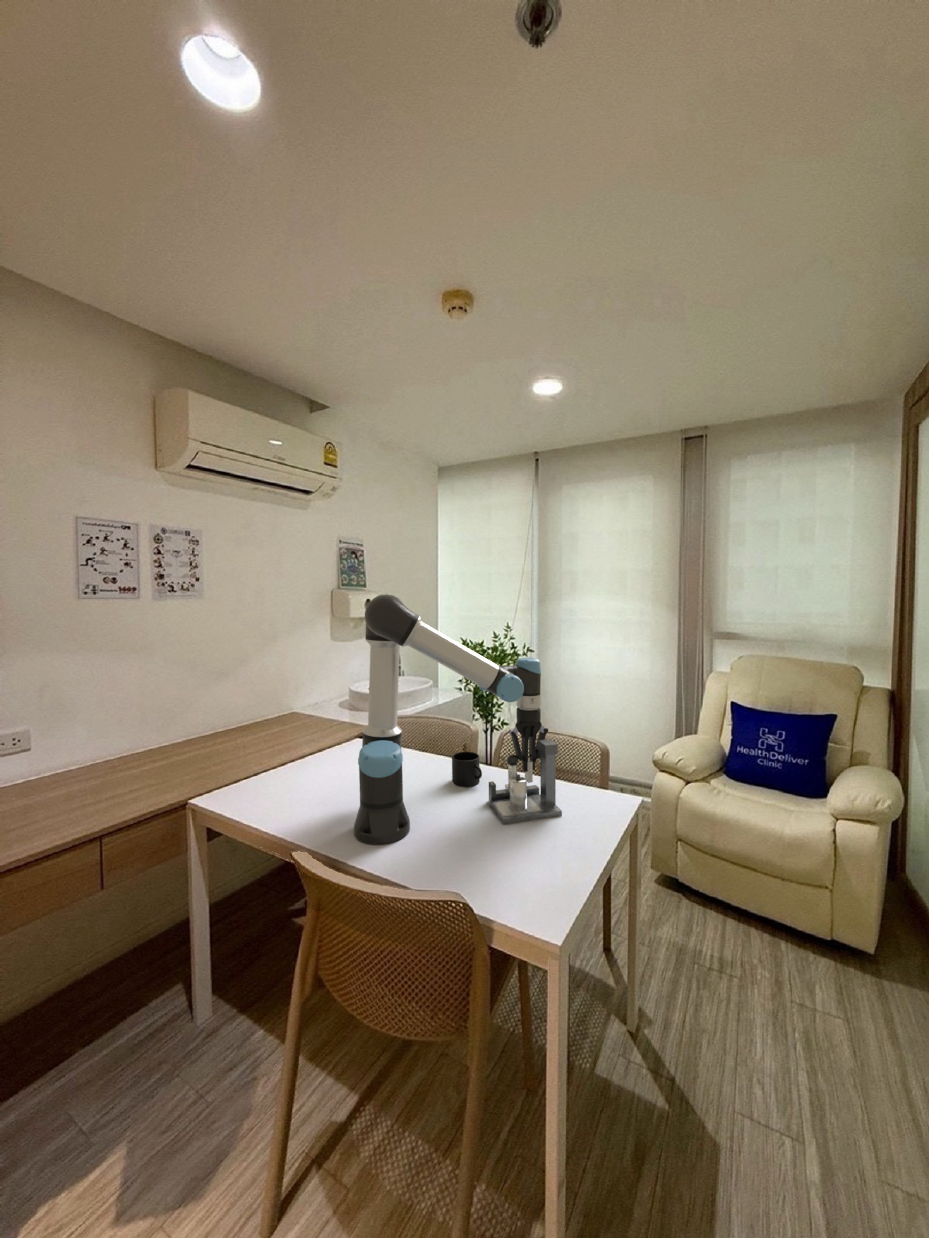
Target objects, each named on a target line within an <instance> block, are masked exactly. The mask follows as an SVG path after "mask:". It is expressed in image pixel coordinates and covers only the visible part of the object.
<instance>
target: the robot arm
mask: <svg viewBox="0 0 929 1238" xmlns="http://www.w3.org/2000/svg"><path fill="white" fill-rule="evenodd" d="M364 621H365V637H364V638H365V641H366V643H367V644H369V645H370V646H369V647H370V650H369V679H368V680H369V684H368V685H369V687H368V688H369V689H368V715H367V716H368V717H367V726H365V727H364V728H363V729H362V741H361V743H362V744H361V746H362V747H361V748H360V750H359V752H358V753H359V754H358V759H357V760H358V761H357V763H358V773H359V775H358V777H359V778H358V779H359V807H358V812H357V814H356V818H355V821H354V823H353V824H354V825H353V832H354V834H353V835H354V837H355V838H356V840H357V841H359V842H361V843H364V844H366V845H367V844H368V845H387V844H391V843H395V842H397V841H400V840H401V839H403V838H405V837H406V836H407V835H408V834H409V833H410V831H411V823H410V822H411V821H410V817H409V814H408V811H407V808H406V806H405V803H404V795H403V794H404V791H403V790H404V787H403V786H404V785H403V783H404V781H403V778H404V777H403V760H404V759H403V758H404V756H403V753H402V737H403V736H402V733H403V732H402V730H403V729H402V728H401V727H400V726H399V725H398V709H399V707H398V706H399V705H398V704H399V703H398V702H399V679H400V677H399V675H400V674H399V673H400V647H407V646H408V647H410V648H412V649H414V650H415V651H418V652H419V653H421V654H422V655H424V656H426V657H428V658H430V659H431V660H433V661H435V662H437V663H439V664H441V665H442V666H444V667H445V668H447V669H449V670H451V671H452V672H454V673H456V674H458V675H460V676H462V677H464V678H465V679H467V680H469V681H471V682H473V683H474V684H476V685H477V686H478V688H479V689H480V690H481V691H484V692H485V691H486V692H489V693H492V694H494V695H496V696H497V697H499V700H502V701H504V702H507V703H516V704H515V705H516V707H517V708H516V723H515V724H514V725H515V727H514V728H512V729H509V730H508V734H509V735H510V737H511V740H512V744H513V749H514V752H515V755H516V756H517V757H518V761H520V762H521V763H522V765H521V769H522V771H523V772H524V778H525V779H526V780H527V783H528V784H529V783H533V781H534V780H533V778H534V777H533V776H534V775H533V771H536V763H537V760H538V759H539V760H540V751H539V750H538V740H546V736H547V735H548V732H549V728H548V727H546V726H543V725H542V722H541V718H542V717H541V712H542V711H541V708H540V707H541V704H542V703H541V702H542V701H541V697H542V696H541V695H542V694H541V682H542V681H541V680H542V679H541V676H542V673H541V671H542V670H541V669H542V668H541V662H540V660H539V659H538V658H535V657H519V658H517V659H516V663H515V664H513V665H498V664H496V663H495V662H493V661H492V660H489V659H487V658H486V657H485V656H482V655H481V654H479V653H478V652H476V651H474V650H472V649H471V648H468V647H467V646H465V645H463V644H462V643H460V642H459V641H456V640H454V639H453V638H451V637H450V636H448V635H447V634H445V633H443V632H441V631H440V630H437V629H436V628H434V627H432V626H430V625H429V624H427V623H425V622H424V621H422V618H421V615H419V614H417V613H415V612H414V611H412V610H411V609H409V608H408V607H407V606H406V605H405V604H404V603H403V602H402V600H401V599H400V598H399V597H396V596H395V595H392V594H387V593H386V594H379V595H377V596H375V597H374V598H372V599H371V600H370V601H369V602H368V604H367V605H366V608H365V611H364ZM518 733H519V735H520V738H521V739H520V740H521V746H520V741H519V737H518ZM537 735H538V736H537Z"/></svg>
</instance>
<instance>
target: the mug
mask: <svg viewBox="0 0 929 1238" xmlns="http://www.w3.org/2000/svg"><path fill="white" fill-rule="evenodd" d="M451 768H452V769H451V775H452V776H451V781H452V784H453V785H455V786H456V787H461V788H462V787H463V788H469V787H470V788H471V787H475V786H477V785H479V783H480V779H481V778H482V776H483V773H482V769H481V767H480V754H478V753H477V752H474V751H473V752H472V751H460V752H459V751H458V752H456V753H454V754H452V756H451Z"/></svg>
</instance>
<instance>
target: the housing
mask: <svg viewBox="0 0 929 1238" xmlns="http://www.w3.org/2000/svg"><path fill="white" fill-rule="evenodd" d="M527 783H528V782H527V780H526V779H525V777H523V776H521V774H519V773H517V775H516V777H512V778H510V808H511V809H513V810H524V809H526V808H527V786H528V785H527Z"/></svg>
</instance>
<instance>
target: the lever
mask: <svg viewBox="0 0 929 1238" xmlns="http://www.w3.org/2000/svg"><path fill="white" fill-rule="evenodd" d="M506 762H507V765H508V766H507V767H508V769H507V771H508V773H507V777H508V779H507V780H508V783H507V784H504V789H507V790H508V791H509V792H510V778H512V777H516V775H517V774H518V764H519V759H518V757H517V756H516V754H513V753H512V754H511V753H510V754H509V755H508V756H507V758H506Z"/></svg>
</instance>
